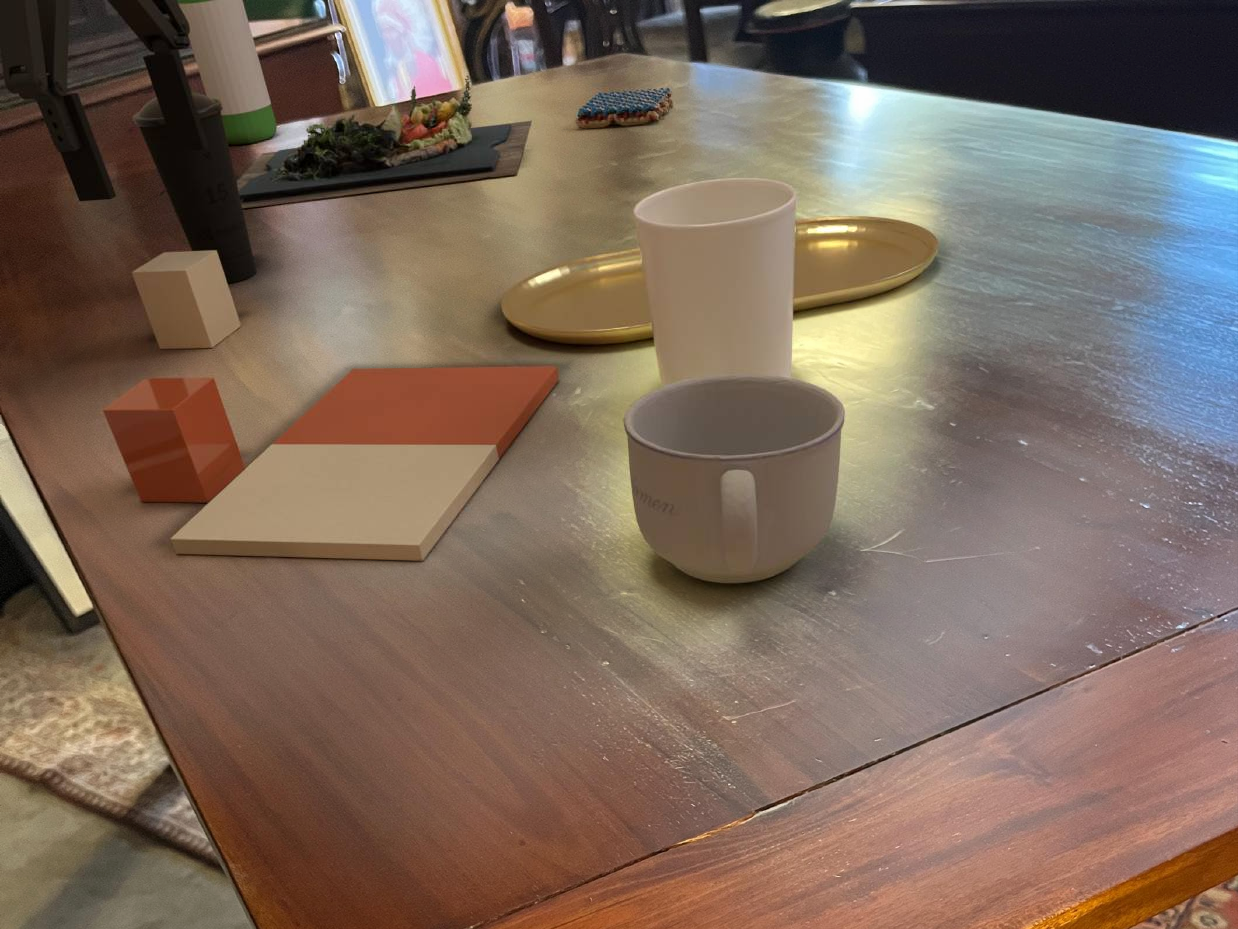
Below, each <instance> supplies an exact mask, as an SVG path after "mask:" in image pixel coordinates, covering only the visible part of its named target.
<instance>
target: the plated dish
mask: <svg viewBox="0 0 1238 929" xmlns="http://www.w3.org/2000/svg"><path fill="white" fill-rule="evenodd" d="M469 80H470V76H469V75H468V74H466V76H465V78H464V81H465V85H464V86H465V90H464V91H463V92H462V94H463V96H462V97H461V101H459V102H458V101H457V99H456V98H455V97H452V98H450V100H448V101H444V102H441V101H439V100H437V96H436V97H433V100H432V102H430V103H429V104H425V103H420V104H418V106H417V98H416V97H417V92H416V86H415V85H414V86H413V88H412V90H411V92H410V94H411V95H410V104H411V105H412V108H411V109H410V110H409V114H408V113H407V114H402V115H401V113H400V111H399V110H398V108H397V107H396V106H394V105H392V107H391V110H390V112H389V114H388V116H387V117H386V118H385V119H384V120H383V121H382V122H380V123H379V124H378V125H373V124H371V123H367V122H365V123H363V124H361V125H359V121H358V120H354V119H355V117H356V114H354V113H353V114H352V115H351V116H349V118H348V119H346V117H344V116H343V115H342V116H341V117H338V118H336V120H335V122H334V124H333V125H327V126H326V127H325V125H324V126H323V123H320V124H317V123H315V124H314V123H313V124H311V125H309V126H308V127H307V128H306V130H305V131H306V132H307V133H308V134H307V140H305V139H304V140H303V144H301V145H300V146H297V147H293V148H286V149H280V150H278V151H270V152H269V151H268V152H263V153H262V154H261V155H260V156H259V157H258V158H257V159H256V160H255V161H254V162H253V163H252V164H251V165H250V166H249V167H248V168H247V170H246V171H245V172H244V173H243V174H242V175H241V176H239V179H237V180H236V182H237V187H238V191H239V196H240V200H241V205H242V209H248V208H256V207H264V206H272V205H281V204H289V203H295V202H296V203H297V202H302V201H312V200H318V199H327V198H334V197H342V196H351V195H358V194H367V193H376V192H384V191H391V190H401V189H408V188H415V187H416V188H417V187H424V186H432V185H433V186H434V185H440V184H441V185H442V184H449V183H457V182H465V181H472V180H479V179H485V178H498V177H505V176H512V175H517V174H518V170H519V168H520V163H521V159H522V156H523V152H524V150H525V149H524V148H525V145H526V141H527V138H528V134H529V131H530V128H531V124H532V120H526V121H518V122H517V121H516V122H509V123H501V124H492V125H484V126H475V127H472V123H471V121H470V117H469V115H470V112H471V111H472V105H473V104H472V103H470V102H471V97H472V95H470V94H471V93H470V92H469V91H470V90H472V88H471V86H470V82H471V81H469ZM318 129H319V130H320V131H318Z"/></svg>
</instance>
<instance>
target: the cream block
mask: <svg viewBox="0 0 1238 929" xmlns="http://www.w3.org/2000/svg"><path fill="white" fill-rule="evenodd" d="M131 275H132V278H133V280H134V283H135V286H136V289H137V291H138V294H139V297H140V299H141V302H142V305H143V308H144V310H145V312H146V315H147V318H148V322H149V324H150V326H151V329H152V332H153V334H154V336H155V339H156V342H157V345H158V347H159V349H160V350H171V349H172V350H173V349H174V350H178V349H213V348H214V347H216V346H217V345H218V344H220V343H221V342H222V341H223V340H225V339H226V338H228V337H229V336H230V335H232V334H233V333H234V332H236V331H237V330H238V329H239V328H241V327H242V324H241V321H240V319H239V315H238V313H237V308H236V305H235V302H234V299H233V296H232V293H231V291H230V287H229V283H228V284H227V281H226V278H225V275H224V272H223V268H222V265H221V262H220V259H219V256H218V253H217V250H210V251H192V250H190V251H189V250H188V251H167V252H166V251H164V252H163V253H161V254H159V255H157V256H156V257H154V258H152V259H151V260H150V261H148V262H146V263H144V264H142V265H141V266H139V267H138V268H136V269H135V270H133V271H131Z"/></svg>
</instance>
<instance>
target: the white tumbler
mask: <svg viewBox="0 0 1238 929" xmlns="http://www.w3.org/2000/svg"><path fill="white" fill-rule="evenodd" d="M797 204H798V192H797V190H796V189H795V188H794V186H792V185H790V184H788V183H785V182H783V181H780V180H775V179H769V178H768V179H767V178H761V177H760V178H759V177H727V178H717V179H716V178H715V179H708V180H706V179H705V180H701V181H695V182H689V183H685V184H684V183H683V184H680V185H676V186H672V187H668V188H665V189H662V190H660V191H657V192H654V193H652V194H650V195H648V196H646V197H644V198H643V199H641V200H640V201H638V202H637V203H636V205H635V206H634V207H633V210H632V218H633V222H634V224H635V231H636V235H637V241H638V242H637V243H638V248H639V249H640V255H641V261H642V268H643V274H644V281H645V287H646V293H647V300H648V306H649V312H650V319H651V325H652V331H653V338H652V339H653V343H654V349H655V356H656V362H657V367H658V368H657V369H658V375H659V380H660V381H659V382H660V387H663V386H666V385H669V384H673V383H676V382H679V381H683V380H688V379H693V378H698V377H703V376H714V375H726V374H750V375H765V376H779V377H785V378H791V379H792V365H793V364H792V361H793V334H794V332H793V329H794V328H793V327H794V311H793V297H794V260H795V224H796V220H797V219H796V218H797Z"/></svg>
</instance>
